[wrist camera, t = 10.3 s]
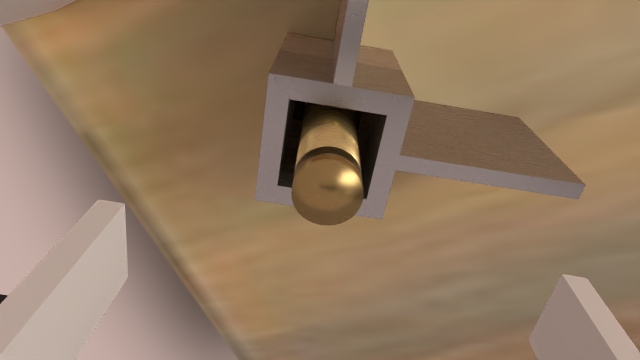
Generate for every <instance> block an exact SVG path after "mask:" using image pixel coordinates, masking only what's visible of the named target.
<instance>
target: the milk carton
mask: <svg viewBox="0 0 640 360" xmlns="http://www.w3.org/2000/svg"><path fill="white" fill-rule="evenodd" d="M74 1H76V0H0V26H3V25H7V24H10V23H14V22H18V21H21V20H25V19H28V18H32V17H35V16H39V15H42V14H46V13H50V12H53V11H56V10H58V9H60V8H62V7H64V6H66V5H68V4H70V3H72V2H74Z"/></svg>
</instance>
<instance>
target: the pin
mask: <svg viewBox="0 0 640 360" xmlns="http://www.w3.org/2000/svg"><path fill="white" fill-rule="evenodd" d="M363 195H364V192H363V184H362V175H361V166H360V158H359V149H358V141H357V132H356V123H355V115H354V110H352V109H346V108H340V107H334V106H328V105H322V104H316V103H310V102H306V104H305V110H304V116H303V123H302V129H301V135H300V141H299V147H298V153H297V160H296V166H295V172H294V178H293V184H292V192H291V196H292V202H293V204H294V206H295V208H296V210H297V211H298V213H299V214H300V215H301V216H303V217H304V218H305V219H307V220H308V221H311V222H313V223H316V224H320V225H336V224H340V223H343V222H345V221H347V220H349V219H350V218H352V217H353V216H354V215H355V214H356V213H357V212H358V210H359V209H360V207H361V205H362V202H363Z"/></svg>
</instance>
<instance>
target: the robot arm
mask: <svg viewBox="0 0 640 360" xmlns="http://www.w3.org/2000/svg"><path fill="white" fill-rule="evenodd" d="M127 278H128V269H127V245H126V220H125V204H124V203H117V202H111V201H105V200H98V201H97V202H96V203H95V204H94V205H93V206H92V207H91V208H90V209H89V210H88V211H87V212H86V213H85V215H83V216H82V218H81V219H80V220H79V221H78V222H77V223H76V224H75V225H74V226H73V227H72V228H71V229H70V230H69V231H68V233H67V234H66V235H65V236H64V237H63V238H62V239H61V240H60V241H59V242H58V243H57V244H56V245H55V246H54V247H53V248H52V250H51V251H50V252H49V253H48V254H47V255H46V256H45V257H44V258H43V259H42V260H41V261H40V262H39V263H38V265H36V267H35V268H34V269H33V270H32V271H31V272H30V273H29V274H28V275H27V276H26V277H25V278H24V279H23V280H22V282H21V283H20V284H19V285H18V286H17V287H16V288H15V289H14V290H13V291H12V292H11V293H10V294H9V295H8V296H7V295H1V294H0V360H75V359H76V358H77V356H78V355H79V353H80V352H81V350H82V348H83V347H84V345H85V344H86V342H87V341H88V339H89V337H90V336H91V334H92V333H93V331H94V330H95V328H96V326H97V325H98V323H99V322H100V320H101V319H102V317H103V315H104V314H105V312H106V311H107V309H108V308H109V306H110V304H111V303H112V301H113V300H114V298H115V297H116V295H117V293H118V292H119V290H120V289H121V287H122V285H123V284H124V282H125V281H126V279H127ZM528 340H529V342H530V344H531V347H532V349H533V351H534V353H535V355H536V357H537V360H640V352H639V351H638V349H637V348H636V347H635V345H634V344H633V342H632V341H631V340H630V338H629V337H628V335H627V334H626V333H625V331H624V330H623V328H622V327H621V325H620V324H619V323H618V321H617V320H616V318H615V317H614V316H613V314H612V313H611V311H610V310H609V309H608V307H607V306H606V304H605V303H604V302H603V300H602V299H601V297H600V296H599V295H598V293H597V292H596V290H595V289H594V288H593V286H592V285H591V283H590V282H589V281H588V279H587V278H583V277H577V276H571V275H564V274H562V275H561V277H560V279H559V281H558V283H557V285H556V287H555V289H554V291H553V293H552V295H551V296H550V298H549V300H548V302H547V304H546V306H545V308H544V310H543V312H542V314H541V316H540V318H539V320H538V322H537V324H536V326H535V328H534V329H533V331H532V333H531V335H530V337H529V339H528Z"/></svg>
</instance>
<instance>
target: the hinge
mask: <svg viewBox="0 0 640 360" xmlns="http://www.w3.org/2000/svg"><path fill="white" fill-rule="evenodd" d="M368 2H369V0H341V2H340V8H339V14H338V19H337V25H336V31H335V37H334V41H332V40H326V39H320V38H315V37H309V36H303V35H297V34H291V33H287V36H286V38H285V40H284V42H283V44H282V46H281V48H280V50H279V53H278V55H277V57H276V59H275V61H274V63H273V65H272V67H271V70H270V72H269V76H268V85H267V94H266V103H265V112H264V121H263V130H262V139H261V148H260V157H259V166H258V175H257V184H256V194H255V200H258V201H264V202H271V203H277V204H284V205H290V206H294V204H293V202H292V196H291V192H292V184H293V178H294V172H295V166H296V160H297V153H298V147H299V141H300V135H301V129H302V123H303V121H299V120H293V112H294V105H295V100H297V101H303V102H310V103H316V104H322V105H328V106H334V107H340V108H346V109H352V110H358V111H363V112H362V116H361V121H360V125H359V130H356V132H357V141H358V149H359V158H360V166H361V175H362V184H363V192H364V195H363V202H362V205H361V207H360V209H359V210H358V212H357V213H356V214H355V215H356V216H362V217H369V218H375V219H382V218H383V215H384V211H385V207H386V203H387V200H388V196H389V192H390V189H391V185H392V181H393V177H394V174H395V170H397V171H403V172H409V173H416V174H422V175H428V176H435V177H441V178H447V179H453V180H460V181H466V182H472V183H479V184H485V185H491V186H498V187H504V188H510V189H516V190H523V191H529V192H535V193H542V194H548V195H554V196H561V197H567V198H573V199H579V198H580V195H581V193H582V191H583V189H584V187H585V184H584V183H583V182H582V181H581V180H580V179H579V178H578V177H577V176H576V175H575V174H574V173H573V172H572V171H571V170H570V169H569V168H568V167H567V166H566V165H565V164H564V163H563V162H562V161H561V160H560V159H559V158H558V157H557V156H556V155H555V154H554V153H553V151H552V150H551V149H550V148H549V147H548V146H547V145H546V144H545V143H544V142H543V141H542V140H541V139H540V138H539V137H538V136H537V135H536V134H535V133H534V132H533V131H532V130H531V129H530V128H529V127H528V126H527V125H526V124H525V123H524V122H523V121H522V120H521V119H520V118H517V117H511V116H505V115H499V114H493V113H487V112H481V111H475V110H469V109H463V108H457V107H451V106H445V105H439V104H433V103H427V102H421V101H415V100H414V99H415V97H414V95H413V92H412V90H411V88H410V86H409V84H408V82H407V80H406V78H405V76H404V74H403V72H402V70H401V68H400V66H399V64H398V61H397V59H396V57H395V55H394V53H393V51H390V50H384V49H379V48H373V47H367V46H361V45H360V42H361V37H362V32H363V27H364V22H365V17H366V12H367V7H368Z"/></svg>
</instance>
